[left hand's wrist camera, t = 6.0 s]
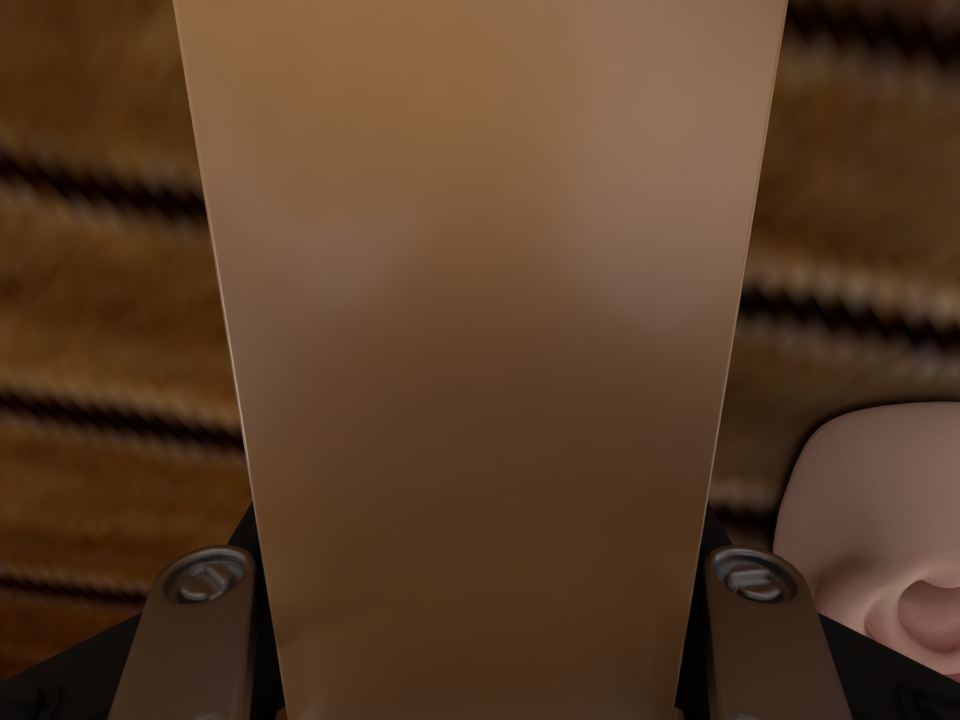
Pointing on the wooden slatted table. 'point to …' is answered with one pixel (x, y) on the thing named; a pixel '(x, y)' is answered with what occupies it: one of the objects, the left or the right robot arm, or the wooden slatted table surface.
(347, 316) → the bar
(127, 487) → the wooden slatted table surface
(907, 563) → the anatomical model
